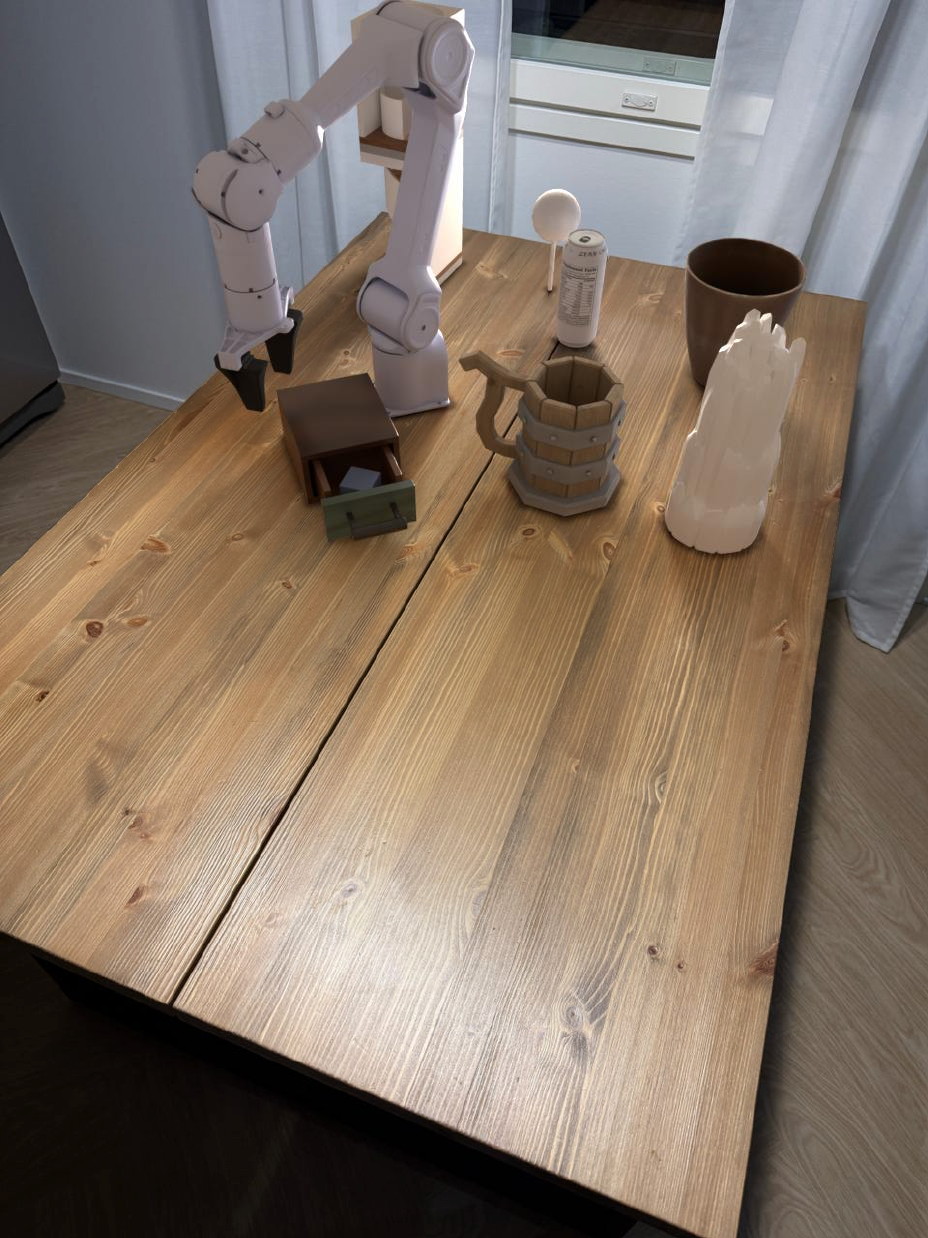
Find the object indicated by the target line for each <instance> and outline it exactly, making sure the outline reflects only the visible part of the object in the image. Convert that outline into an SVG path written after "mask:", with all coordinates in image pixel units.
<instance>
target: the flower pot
mask: <svg viewBox="0 0 928 1238" xmlns="http://www.w3.org/2000/svg"><path fill="white" fill-rule="evenodd" d="M807 279H808V271H807V267H806V265H805V263H804V262H803V261H802V259H800V257H798V256H797V255H796V254H795V253H793V252H791V251H790V250H788V249H786V248H784V247H782V246H780V245H777V244H774V243H772V242H768V241H763V240H760V239H755V238H747V237H723V238H715V239H711V240H708V241H705V242H702V243H700V244H698V245H696V246H695V247H693V249H691V250H690V251H689V253H688V254H687V256H686V259H685V271H684V293H683V294H684V295H683V296H684V297H683V298H684V299H683V301H684V307H683V308H684V329H685V338H686V339H685V340H686V347H687V348H686V349H687V354H688V361H689V366H690V371H691V374H692V377H693V378H694V379H695V380H696V382H697V383H699V384H700V385H702V386H704V387H706V384H707V380H708V376H709V372H710V370H711V368H712V366H713V364H714V361H715V359H716V357H717V355H718V353H719V351H720V350H721V348H722V347H724V346H726V345H727V344H728V342H729V340H730V338H731V337H732V335H733V333H734V331H735V330H736V328H737V326H739V325H740V324H742V323H743V321H744V319H745V317H746V314H747V313H748V312H750V311H751V310H753V309H756V310H758V311H760V319H761V317H762V316H763V315H765V314H768V313H771V315H772V323H771V333H772V332H773V330H774V328H775V325H776V324H778V325H779V326H781V327H782V328H784V325H785V323H786V322H787V320H788V319H789V316H790V314H791V312H792V311H793V308H794V306H795V304H796V302H797V300H798V298H799V296H800V294H801V292H802V290H803V288H804V285H805V284H806V281H807Z"/></svg>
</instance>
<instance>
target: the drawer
mask: <svg viewBox="0 0 928 1238" xmlns="http://www.w3.org/2000/svg"><path fill="white" fill-rule="evenodd" d="M308 463H309V470H310V474H311V477H312V480H313V483H314V485H315V488H316V491H317V493H318V496H319V499H320V501H319V502H320V504H321V511H322V518H323V519H322V520H323V526H324V532H325V536H326V539H327V542H332V541H336V540H340V539H344V538H350V537H351V538H352V541H353V542H359V541H363V540H367V539H372V538H376V537H380V536H385V535H388V534H394V533H397V532H401V531H405V530H408V524H410V523H414V522H417V504H416V502H417V501H416V485H415V483H414V481H413V479H407V480H403V479H404V478H403V472H402V470H401V471H400V469H399V467H398V464H397V462H396V460H395V458H394V456H393V454H392V452H391V450H390V448H389V445H388V444H385V445H380V446H375V447H370V448H365V449H361V450H356V451H351V452H346V453H342V454H337V455H332V456H327V457H322V458H318V459H313V460H308ZM351 466H352V467H357V468H362V469H366V470H371V471H376V472H380V474H381V486H379V487H375V488H370V489H366V490H361V491H357V492H352V493H348V494H343V495H340V487H339V486H340V484H341V482H342V481H343V479H344V477H345V476H346V474H347V472H348V471H349V469H350V467H351Z"/></svg>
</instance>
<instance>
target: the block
mask: <svg viewBox="0 0 928 1238" xmlns="http://www.w3.org/2000/svg"><path fill="white" fill-rule="evenodd" d="M379 486H381V474H380V472H376V471H371V470H366V469H362V468H357V467H352V466H351V467H350V469H349V471H348V472H347V474H346V476H345V477H344V479H343V481H342V482H341V484H340V486H339V487H340V495H343V494H348V493H352V492H357V491H361V490H366V489H370V488H375V487H379Z"/></svg>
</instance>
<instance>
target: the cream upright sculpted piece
mask: <svg viewBox="0 0 928 1238" xmlns="http://www.w3.org/2000/svg"><path fill="white" fill-rule="evenodd" d="M771 323H772V315H771V313H768V314H765V315H763V316H762V317H761V319H760V311H758V310H756V309H753V310H751V311H750V312H748V313H747V314H746V317H745V319H744V321H743V323H742V324H740V325H739V326H737V328H736V330H735V331H734V333H733V335H732V337H731V338H730V340H729V342H728V344H727V345H726V346H724V347H722V348H721V350H720V351H719V353H718V355H717V357H716V359H715V361H714V364H713V366H712V368H711V370H710V372H709V376H708V380H707V384H706V386H705V387H704V388H705V389H704V392H703V397H702V400H701V404H700V408H699V412H698V417H697V420H696V423H695V427H694V429H693V430H692V432H691V433H690V434H688V436H686V439H685V442H684V446H683V449H682V454H681V458H680V462H679V466H678V470H677V474H676V476H675V478H674V480H673V483H672V486H671V488H670V493H669V497H668V500H667V505H666V509H665V514H664V522H665V524H666V527H667V530H668V531H669V532H671V533H670V534H671V536H672V537H673V538H674V539H676V540H677V541H678V542H680V543H682V544H683V545H685V546H687V547H688V548H692V547H694V549H695V550H697V551H700V552H704V553H708V554H715V553H716V554H719V555H724V554H731V553H738V552H742V550H745V549H746V548H748V547H750V546H751V545H752V544H753V543H754V542H755V540H756V538H757V537H758V534H759V532H760V528H761V526H762V523H763V520H764V518H765V515H766V511H767V509H768V500H769V490H770V487H771V484H772V481H773V479H774V476H775V473H776V470H777V467H778V465H779V462H780V458H781V450H782V440H781V431H780V430H781V426H782V424H783V422H784V418H785V415H786V412H787V409H788V406H789V404H790V400H791V398H792V394H793V392H794V389H795V386H796V383H797V380H798V377H799V374H800V372H801V369H802V366H803V363H804V358H805V353H806V349H807V343H806V341H805V339H804V338H803V337H802V336H801V337H799V338H796V339H793V340H792V343H791V344H790V348H789V349H788V348H787V347H786V341H787V340H786V339H787V338H786V337H787V335H786V331H785V328H784V327H781V326H779V325H778V324H776V325H775V328H774V330H773V332H772V333H771Z"/></svg>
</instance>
